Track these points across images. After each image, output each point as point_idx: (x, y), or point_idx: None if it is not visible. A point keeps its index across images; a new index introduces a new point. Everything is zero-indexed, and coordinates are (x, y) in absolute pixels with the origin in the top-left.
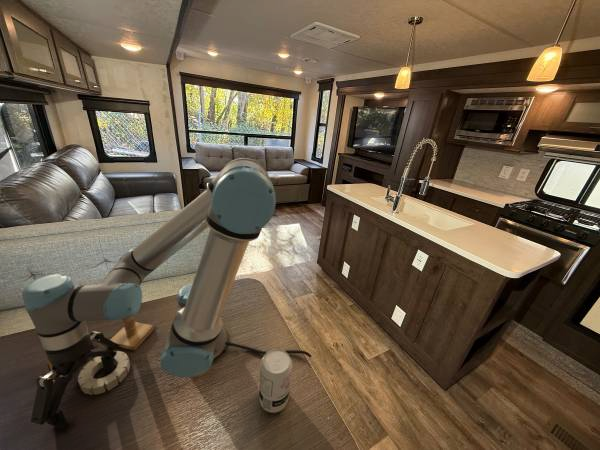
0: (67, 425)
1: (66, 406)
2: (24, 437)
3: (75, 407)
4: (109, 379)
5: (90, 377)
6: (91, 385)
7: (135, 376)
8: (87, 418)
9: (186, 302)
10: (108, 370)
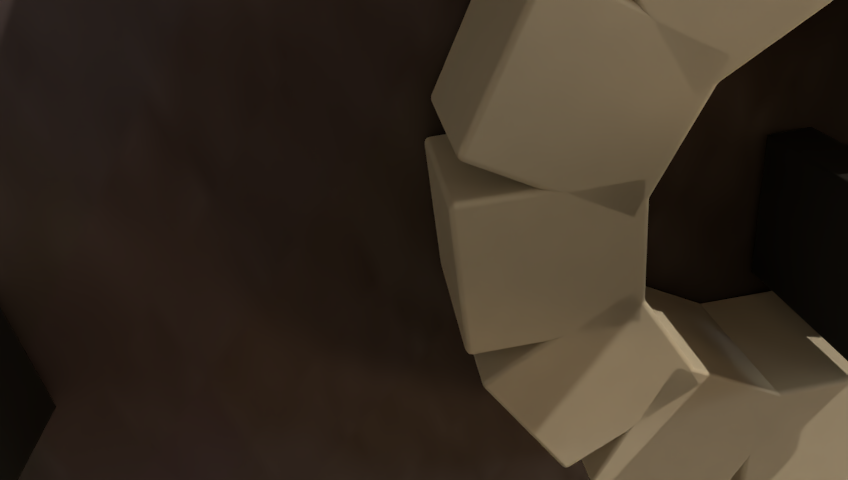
0: (33, 434)
1: (174, 102)
2: None
3: (233, 235)
4: (674, 456)
5: (650, 173)
6: (522, 332)
7: None
8: (226, 465)
9: None
10: (823, 254)
